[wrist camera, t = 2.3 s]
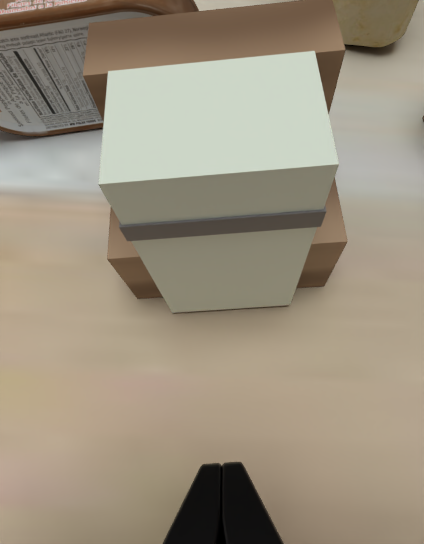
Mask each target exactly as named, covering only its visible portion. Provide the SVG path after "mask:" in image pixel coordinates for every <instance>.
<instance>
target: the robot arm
mask: <svg viewBox="0 0 424 544" xmlns="http://www.w3.org/2000/svg"><path fill="white" fill-rule="evenodd" d="M163 544H284V543H283V541H282V539H281V537H280V535H279V534H278V532H277V530H276V528H275V526H274V524H273V522H272V520H271V518H270V516H269V514H268V512H267V510H266V508H265V506H264V504H263V502H262V500H261V498H260V496H259V495H258V493H257V491H256V489H255V487H254V485H253V483H252V481H251V479H250V477H249V475H248V473H247V471H246V469H245V467H244V465H243V464H242V463H241V462H228V463H224V464H223V465H221V464H219V463H212V464H203V465H202V466H201V467H200V469H199V471H198V473H197V475H196V477H195V479H194V481H193V483H192V485H191V487H190V489H189V491H188V493H187V495H186V497H185V499H184V501H183V503H182V505H181V507H180V509H179V511H178V513H177V515H176V517H175V519H174V521H173V523H172V525H171V527H170V530H169V532H168V534H167V536H166V538H165V540H164V542H163Z"/></svg>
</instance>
